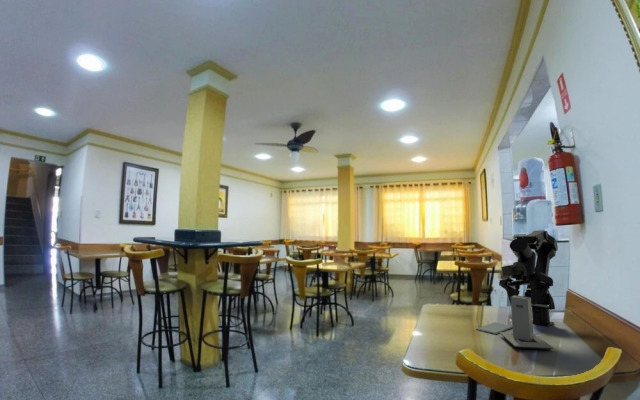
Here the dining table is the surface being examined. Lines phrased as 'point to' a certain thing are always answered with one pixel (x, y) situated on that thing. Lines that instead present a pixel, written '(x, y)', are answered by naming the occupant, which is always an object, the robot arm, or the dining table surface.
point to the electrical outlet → (526, 342)
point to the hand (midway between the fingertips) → (522, 304)
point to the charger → (522, 318)
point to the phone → (495, 328)
